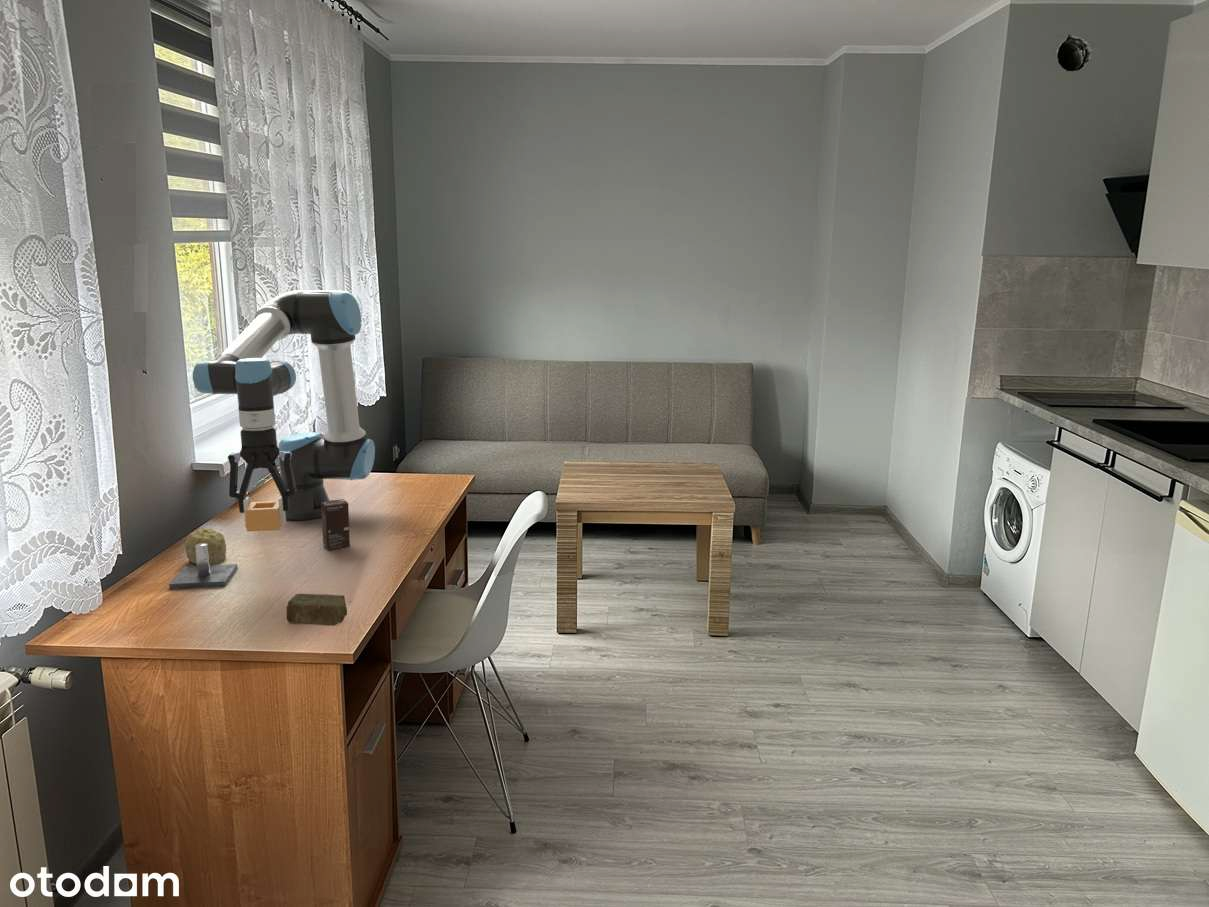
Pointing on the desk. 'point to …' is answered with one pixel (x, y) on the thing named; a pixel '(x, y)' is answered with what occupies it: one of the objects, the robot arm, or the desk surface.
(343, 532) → the box
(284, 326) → the robot arm
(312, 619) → the stone block
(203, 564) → the keeper
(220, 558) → the decorative item
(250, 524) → the tan square-hole block
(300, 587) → the desk surface
